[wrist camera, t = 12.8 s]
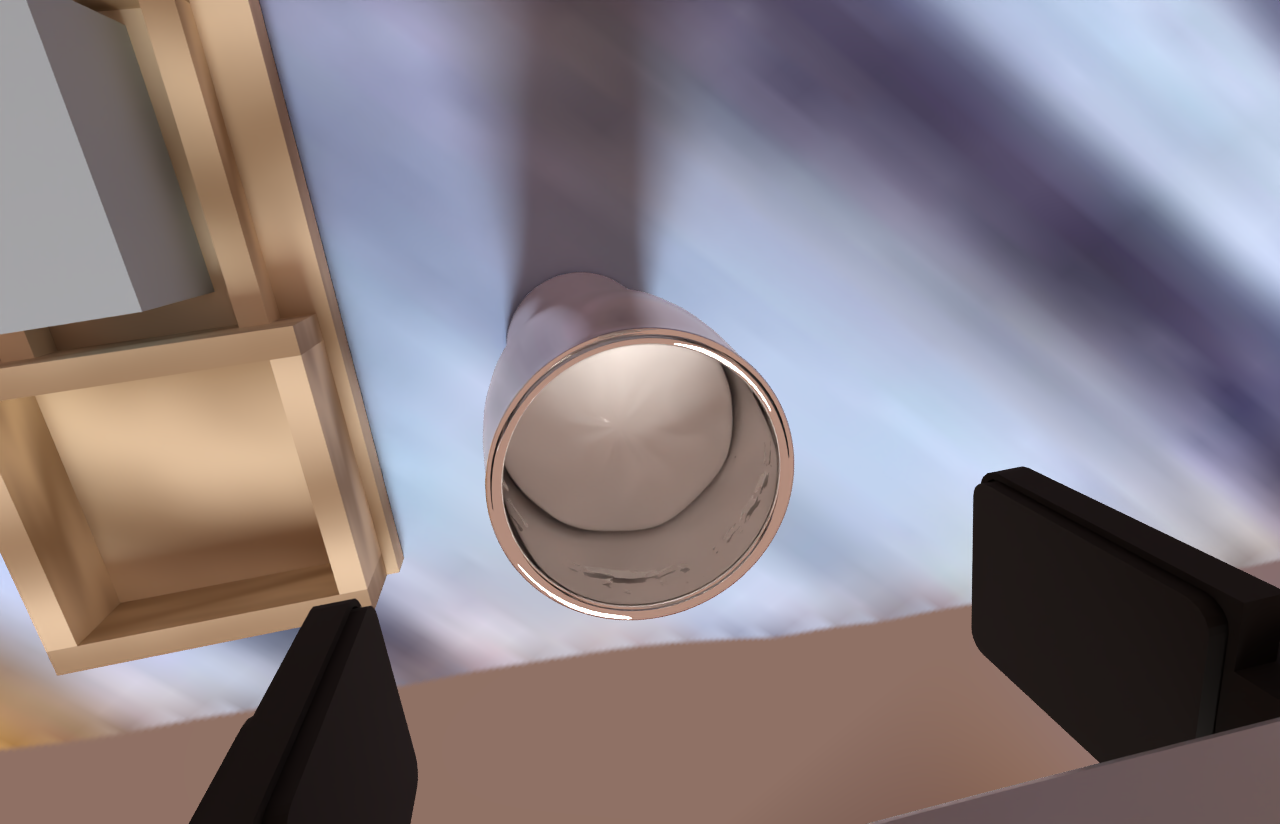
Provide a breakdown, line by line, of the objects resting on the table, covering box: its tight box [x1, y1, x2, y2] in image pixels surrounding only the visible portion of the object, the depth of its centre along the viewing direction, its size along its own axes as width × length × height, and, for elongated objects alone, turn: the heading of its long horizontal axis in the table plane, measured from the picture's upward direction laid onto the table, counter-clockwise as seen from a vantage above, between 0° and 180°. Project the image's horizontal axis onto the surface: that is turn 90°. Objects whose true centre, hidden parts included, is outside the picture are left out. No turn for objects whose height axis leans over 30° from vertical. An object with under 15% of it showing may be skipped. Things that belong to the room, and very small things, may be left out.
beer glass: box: [483, 272, 794, 620], centre depth 21 cm, size 7×7×15 cm
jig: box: [0, 0, 404, 676], centre depth 24 cm, size 22×12×4 cm, turn 7°
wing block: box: [0, 0, 215, 334], centre depth 20 cm, size 8×4×5 cm, turn 8°
